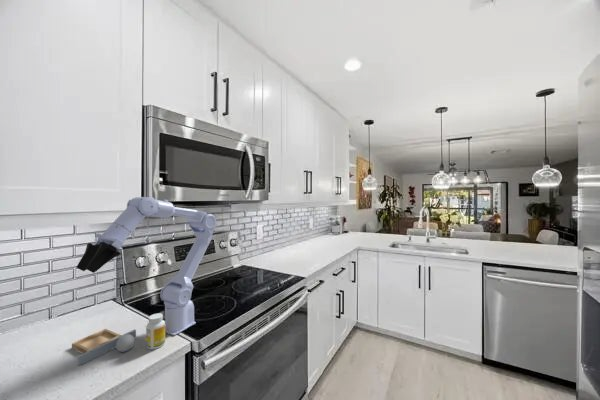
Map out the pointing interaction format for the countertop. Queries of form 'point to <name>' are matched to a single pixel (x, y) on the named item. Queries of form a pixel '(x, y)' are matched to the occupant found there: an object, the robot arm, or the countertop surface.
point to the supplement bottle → (155, 331)
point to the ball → (125, 342)
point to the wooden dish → (94, 340)
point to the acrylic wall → (101, 349)
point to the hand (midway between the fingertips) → (84, 270)
